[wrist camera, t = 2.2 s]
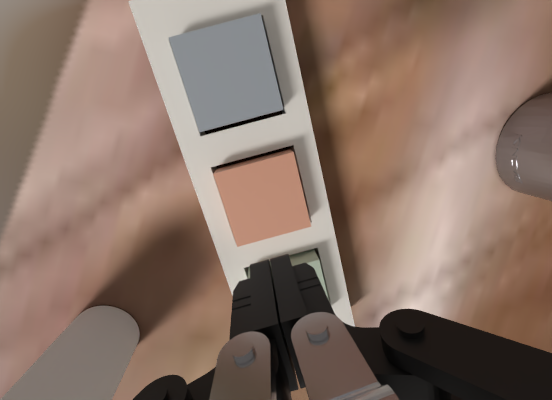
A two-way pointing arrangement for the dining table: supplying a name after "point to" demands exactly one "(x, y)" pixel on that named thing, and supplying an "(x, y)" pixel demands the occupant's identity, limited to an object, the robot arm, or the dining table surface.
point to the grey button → (227, 72)
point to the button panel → (245, 135)
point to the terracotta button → (263, 197)
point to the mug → (82, 359)
